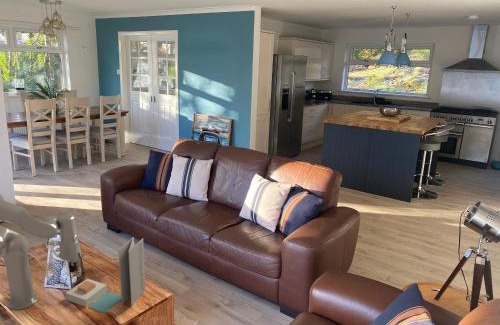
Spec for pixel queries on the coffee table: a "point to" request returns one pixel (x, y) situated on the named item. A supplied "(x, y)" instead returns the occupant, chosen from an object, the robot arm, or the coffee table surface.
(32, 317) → the coffee table surface
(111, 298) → the mat
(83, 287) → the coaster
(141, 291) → the brochure
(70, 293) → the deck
